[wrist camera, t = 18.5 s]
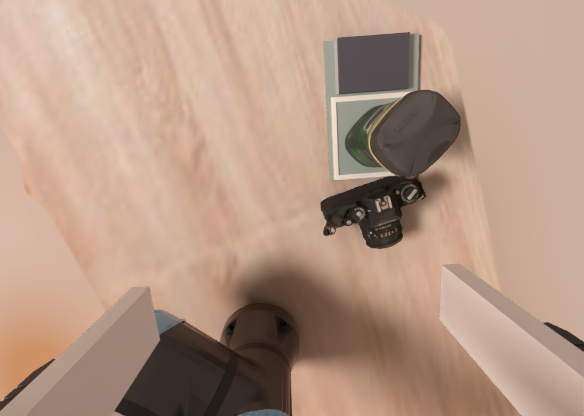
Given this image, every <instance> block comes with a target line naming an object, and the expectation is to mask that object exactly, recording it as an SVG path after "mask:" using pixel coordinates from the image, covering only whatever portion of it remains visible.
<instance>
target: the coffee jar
mask: <svg viewBox="0 0 584 416" xmlns="http://www.w3.org/2000/svg"><path fill="white" fill-rule="evenodd" d="M459 130H460V116H459V115H458V113H457V112H456V110H455V109H454V108H453V107H452V105H451V104H450V103H449V102H448V101H447V100H446V99H445V98H444V97H443V96H442V95H440V94H439V93H437V92H434V91H431V90H418V91H413V92H410V93H408V94H406V95H404V96H403V97H401V98H399V99H398V100H396V101H394V102H391V103H388V104H384V105H379V106H375V107H373V108H371V109H370V110H368V111H367V112H366V113H365V114H364V115H363V116H361V118H360V119H359V120H358V121H357V122H356V123H355V124H354V125H353V127H352V128H351V129H350V131H349V132H348V134H347V135H346V138H345V147H346V150H347V151H348V153H349V154H350V155H351V156H352V157H353V158H354V159H355V160H356V161H357V162H358V163H360V164H361V165H363V166H366V167H383V168H384V169H385V170H387V171H388V172H390V173H392V174H394V175H397V176H415V175H419V174H421V173H423V172H424V171H426V170H427V169H428V168H429V167H430V166H431V165H432V164H434V163H435V162H436V161H437V160H438V159H439V158H440V157H441V156H442V155H443V154H444V152H445V151H446V150H447V149H448V148H449V147H450V146H451V145H452V143H453V142H454V141H455V139H456V138H457V136H458V133H459Z"/></svg>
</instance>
